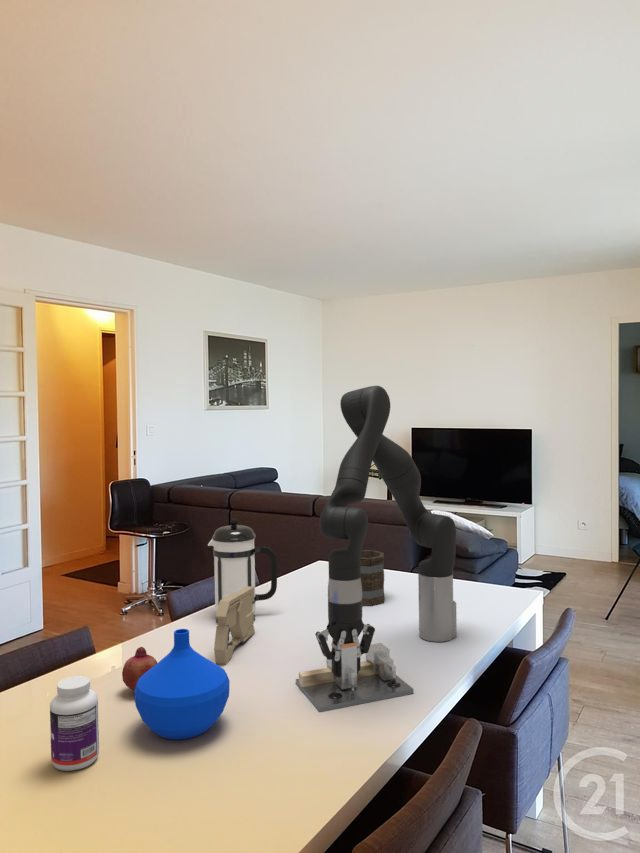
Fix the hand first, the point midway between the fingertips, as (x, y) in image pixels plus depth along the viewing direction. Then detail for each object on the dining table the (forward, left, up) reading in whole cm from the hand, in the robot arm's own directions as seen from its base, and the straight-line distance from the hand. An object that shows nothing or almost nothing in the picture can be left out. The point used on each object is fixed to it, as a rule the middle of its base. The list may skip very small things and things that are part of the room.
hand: (346, 674), depth 144 cm
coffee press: (+9, -59, -4) cm, 60 cm away
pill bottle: (+56, +8, -4) cm, 57 cm away
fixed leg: (-10, -1, -2) cm, 10 cm away
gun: (+16, -35, -4) cm, 39 cm away
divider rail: (-2, -4, -3) cm, 6 cm away
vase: (+36, +3, -4) cm, 36 cm away
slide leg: (0, -1, -2) cm, 3 cm away
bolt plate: (-2, 0, -4) cm, 4 cm away
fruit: (+42, -17, -4) cm, 46 cm away
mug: (-30, -57, -4) cm, 65 cm away
